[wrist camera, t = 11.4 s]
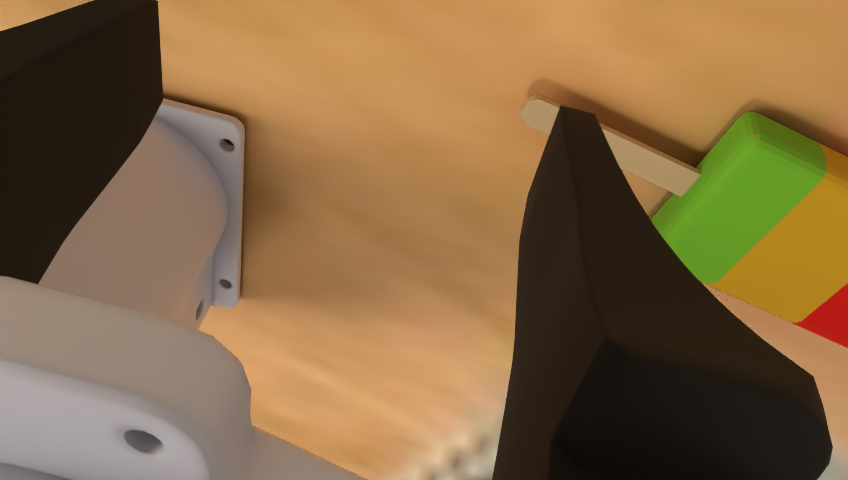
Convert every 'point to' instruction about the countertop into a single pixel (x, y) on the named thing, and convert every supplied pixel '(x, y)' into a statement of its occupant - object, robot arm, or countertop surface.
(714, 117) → the countertop surface
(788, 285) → the popsicle
